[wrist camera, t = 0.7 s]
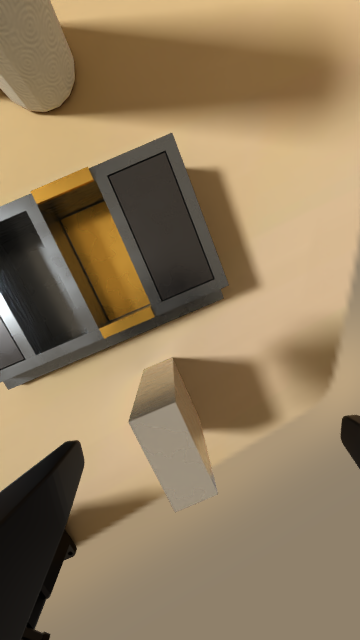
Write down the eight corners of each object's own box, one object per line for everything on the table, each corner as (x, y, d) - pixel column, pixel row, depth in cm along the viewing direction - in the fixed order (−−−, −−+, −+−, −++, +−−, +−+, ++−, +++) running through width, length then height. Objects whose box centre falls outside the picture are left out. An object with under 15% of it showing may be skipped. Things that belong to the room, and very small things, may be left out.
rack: (16, 384, 20) (-25, 410, 16) (-65, 251, 18) (-136, 239, 13) (220, 297, 20) (235, 300, 15) (165, 152, 17) (164, 110, 13)
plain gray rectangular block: (172, 429, 21) (175, 512, 14) (143, 369, 20) (128, 422, 12) (199, 417, 21) (218, 494, 13) (172, 357, 20) (175, 402, 12)
